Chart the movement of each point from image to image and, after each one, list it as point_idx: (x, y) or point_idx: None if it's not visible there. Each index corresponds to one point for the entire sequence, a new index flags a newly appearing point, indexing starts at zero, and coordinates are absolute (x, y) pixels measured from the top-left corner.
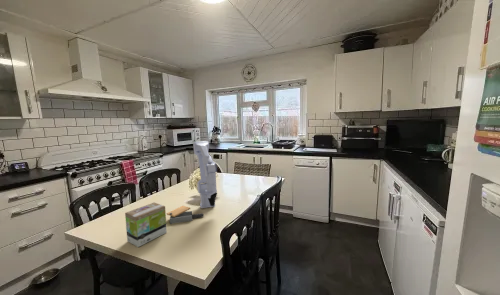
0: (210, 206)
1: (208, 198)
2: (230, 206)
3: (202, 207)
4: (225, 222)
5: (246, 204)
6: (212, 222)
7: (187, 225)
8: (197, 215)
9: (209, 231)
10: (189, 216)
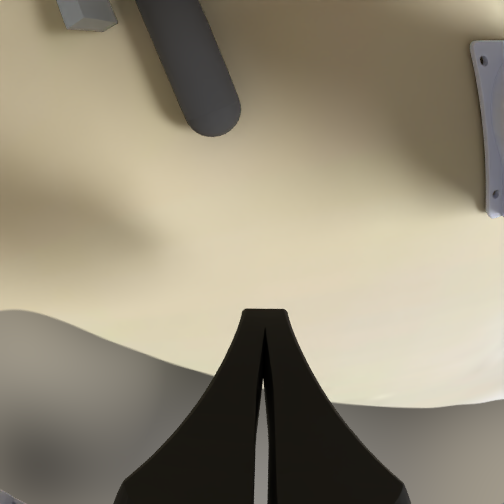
0: (489, 168)
1: (168, 449)
2: (439, 340)
3: (478, 66)
4: (140, 349)
5: (426, 406)
6: (109, 264)
7: (16, 48)
8: (163, 63)
9: (6, 270)
10: (60, 3)
